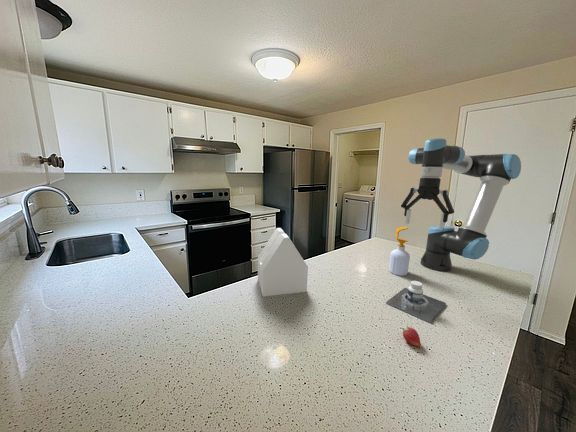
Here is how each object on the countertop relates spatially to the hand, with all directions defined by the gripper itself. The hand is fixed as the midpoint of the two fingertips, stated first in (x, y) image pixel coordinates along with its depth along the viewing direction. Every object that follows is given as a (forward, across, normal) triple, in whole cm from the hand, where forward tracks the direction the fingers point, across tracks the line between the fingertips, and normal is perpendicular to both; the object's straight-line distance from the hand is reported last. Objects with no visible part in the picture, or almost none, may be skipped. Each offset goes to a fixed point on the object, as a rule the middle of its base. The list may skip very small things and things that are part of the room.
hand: (423, 226), depth 103 cm
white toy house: (+29, -40, -47) cm, 68 cm away
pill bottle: (+28, +6, -17) cm, 33 cm away
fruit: (+29, +13, -39) cm, 51 cm away
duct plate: (+29, +6, -15) cm, 33 cm away
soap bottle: (+29, -12, +10) cm, 33 cm away
